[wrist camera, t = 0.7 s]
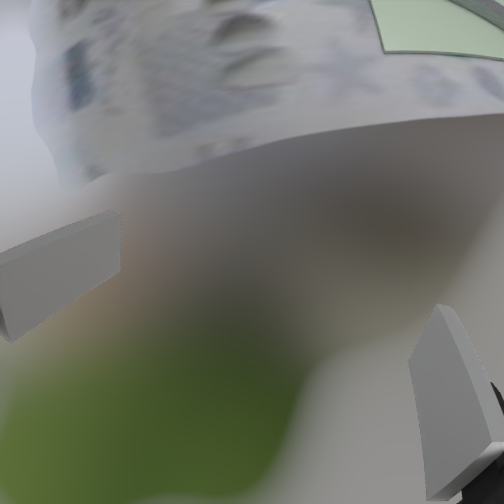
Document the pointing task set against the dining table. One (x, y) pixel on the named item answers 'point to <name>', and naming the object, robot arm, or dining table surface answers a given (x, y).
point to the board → (436, 29)
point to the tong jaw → (485, 10)
